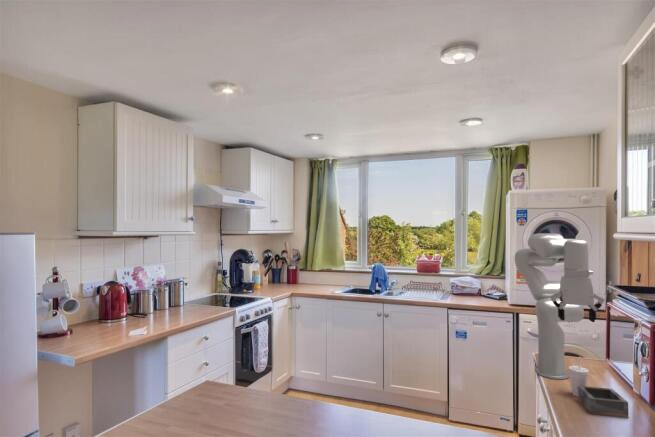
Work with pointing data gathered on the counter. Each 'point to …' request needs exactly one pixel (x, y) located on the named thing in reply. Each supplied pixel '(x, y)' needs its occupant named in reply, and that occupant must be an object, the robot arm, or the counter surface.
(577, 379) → the smoothie
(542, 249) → the robot arm
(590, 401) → the frame
